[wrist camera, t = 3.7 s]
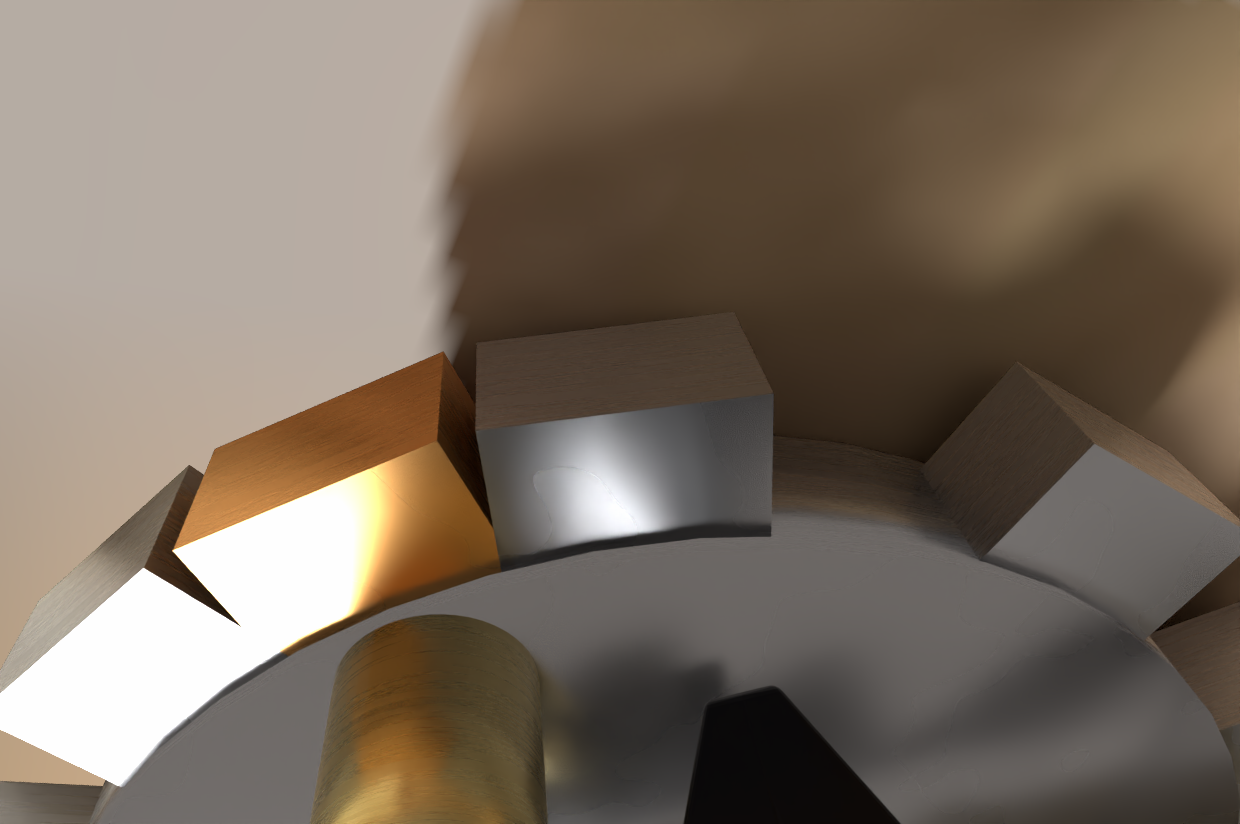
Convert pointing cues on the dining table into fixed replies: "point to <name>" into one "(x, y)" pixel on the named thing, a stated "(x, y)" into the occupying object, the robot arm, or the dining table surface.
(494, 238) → the dining table surface
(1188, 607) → the dining table surface
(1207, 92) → the dining table surface
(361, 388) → the sprocket
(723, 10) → the dining table surface
